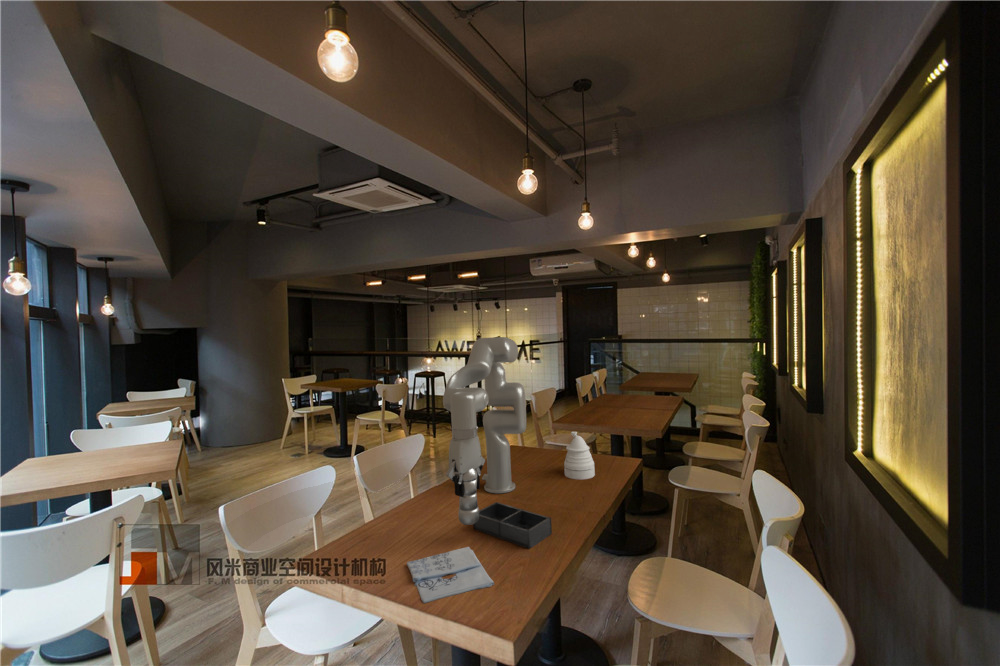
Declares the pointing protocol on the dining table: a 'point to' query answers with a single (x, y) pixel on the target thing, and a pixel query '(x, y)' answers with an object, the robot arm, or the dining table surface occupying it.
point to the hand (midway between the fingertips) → (467, 491)
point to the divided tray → (513, 524)
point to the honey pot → (578, 460)
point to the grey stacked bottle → (469, 499)
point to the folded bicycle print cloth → (437, 566)
